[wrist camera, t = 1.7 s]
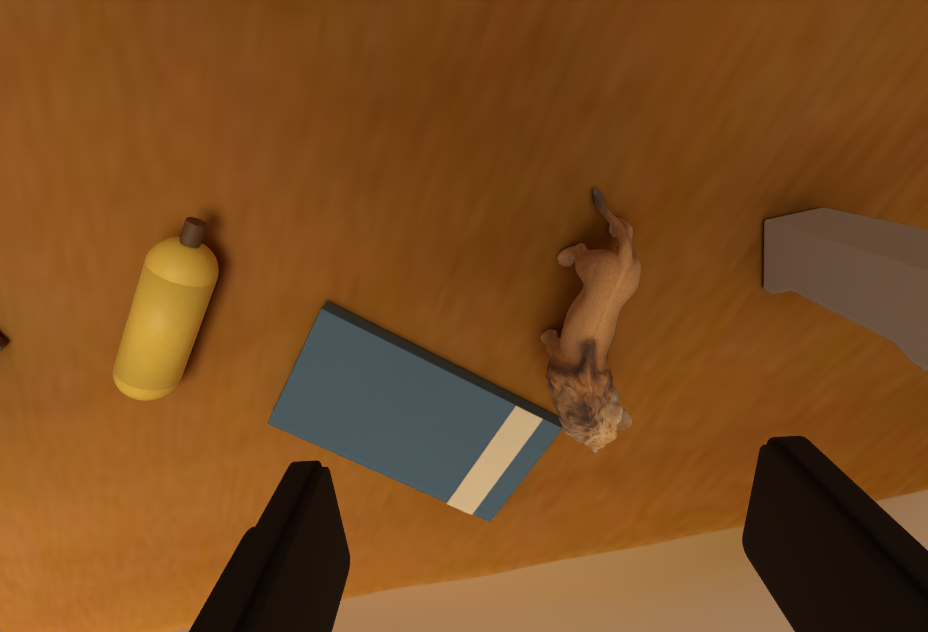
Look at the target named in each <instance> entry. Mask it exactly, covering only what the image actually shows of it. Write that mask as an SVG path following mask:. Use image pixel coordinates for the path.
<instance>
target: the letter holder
mask: <svg viewBox="0 0 928 632" xmlns="http://www.w3.org/2000/svg"><path fill="white" fill-rule="evenodd" d="M6 344H7V341H6V340H5V339H4V338H3V337H2V336H1V335H0V349H2V348H3V347H4V346H5V345H6Z"/></svg>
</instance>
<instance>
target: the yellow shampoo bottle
mask: <svg viewBox="0 0 928 632" xmlns="http://www.w3.org/2000/svg"><path fill="white" fill-rule="evenodd" d="M206 228H207V224H206V223H205V222H204V221H202V220H200V219H197V218H193V217H188V218H186V220H185V223H184V226H183V229H182V233H181V236H180V237H172V238H167V239H165V240H162V241H160V242H158V243H157V244H156V245H154V246H153V247H152V249H151V250H150V251H149V252H148V254H147V256H146V259H145V262H144V265H143V269H142V272H141V275H140V279H139V282H138V286H137V289H136V293H135V296H134V299H133V303H132V306H131V310H130V313H129V316H128V320H127V323H126V327H125V330H124V333H123V337H122V340H121V344H120V347H119V350H118V354H117V357H116V361H115V364H114V368H113V378H114V382H115V384H116V385H117V387H118V388H119V390H120V391H121V392H123V393H124V394H125V395H127V396H129V397H131V398H134V399H138V400H154V399H157V398H161V397H163V396H165V395H167V394H168V393H170V392H171V391H173V390H174V389H175V387H176V386H177V385H178V384H179V382H180V380H181V378H182V376H183V373H184V370H185V367H186V364H187V362H188V359H189V356H190V353H191V351H192V348H193V345H194V342H195V340H196V337H197V334H198V331H199V329H200V326H201V323H202V320H203V318H204V315H205V312H206V309H207V307H208V304H209V301H210V298H211V296H212V293H213V290H214V287H215V285H216V282H217V279H218V275H219V266H218V262H217V259H216V257H215V255H214V254H213V252H212V251H211V250H210V249H209V248H208V247H207V246H206V245H204V244H203V243H202V240H203V237H204V234H205V231H206Z"/></svg>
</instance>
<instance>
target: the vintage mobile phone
mask: <svg viewBox="0 0 928 632" xmlns="http://www.w3.org/2000/svg"><path fill="white" fill-rule="evenodd" d="M764 290H765V291H767V292H769V293H771V294H776V293H781V292H786V291H793V292H795V293H797V294H799V295H801V296H803V297H805V298H807V299H809V300H811V301H813V302H815V303H817V304H819V305H821V306H823V307H825V308H827V309H829V310H831V311H833V312H835V313H837V314H839V315H841V316H843V317H845V318H847V319H849V320H851V321H853V322H855V323H857V324H859V325H861V326H863V327H865V328H867V329H868V330H870V331H872V332H874V333H876V334H878V335H880V336H882V337H884V338H886V339H888V340H890V341H892V342H894V343H895V344H896V345H897V346H898V347H899V348H900V349H901V351H902V352H903V353H904V354H905V355H906V356H907V357H908V358H909V359H910V360H911V361H912V362H913V363H914V364H916V365H917V366H919V367H920V368H922V369H924V370H925V371H927V372H928V230H926V229H922V228H917V227H912V226H908V225H903V224H899V223H894V222H889V221H885V220H880V219H876V218H871V217H866V216H862V215H857V214H853V213H848V212H843V211H839V210H834V209H830V208H825V207H822V208H818V209H813V210H808V211H804V212H799V213H795V214H790V215H785V216H781V217H776V218H772V219H767V220H765V221H764Z"/></svg>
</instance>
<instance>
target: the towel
mask: <svg viewBox="0 0 928 632" xmlns="http://www.w3.org/2000/svg"><path fill="white" fill-rule="evenodd" d="M268 424H270V425H272V426H274V427H277V428H279V429H281V430H284V431H286V432H288V433H290V434H293V435H295V436H297V437H299V438H302V439H304V440H306V441H308V442H311V443H313V444H315V445H317V446H320V447H322V448H324V449H327V450H329V451H331V452H333V453H336V454H338V455H340V456H342V457H345V458H347V459H349V460H351V461H354V462H356V463H358V464H360V465H363V466H365V467H367V468H369V469H372V470H374V471H376V472H379V473H381V474H383V475H385V476H388V477H390V478H392V479H394V480H397V481H399V482H401V483H403V484H406V485H408V486H410V487H412V488H415V489H417V490H419V491H422V492H424V493H426V494H428V495H431V496H433V497H435V498H437V499H440V500H442V501H444V502H446V503H447V504H448V505H450V506H452V507H455V508H457V509H459V510H462V511H464V512H466V513H468V514H471V515H472V514H474V515H476V516H478V517H480V518H483V519H485V520H487V521H489V522H490V521H491V520H492V519H493V518H494V516H495V515H496V514H497V512H498V511H499V510H500V509H501V507H502V506H503V505H504V503H505V502H506V501H507V499H508V498H509V497H510V496H511V494H512V493H513V492H514V490H515V489H516V488H517V487H518V485H519V484H520V483H521V481H522V480H523V479H524V477H525V476H526V475H527V474H528V472H529V471H530V470H531V468H532V467H533V466H534V464H535V463H536V462H537V461H538V459H539V458H540V457H541V455H542V454H543V453H544V451H545V450H546V449H547V448H548V446H549V445H550V444H551V442H552V441H553V440H554V439H555V437H556V436H557V435H558V433H559V432H560V431H561V429H562V426H561V422H560V420H559V417H557V416H555V415H553V414H551V413H549V412H547V411H545V410H543V409H541V408H539V407H537V406H535V405H533V404H531V403H529V402H527V401H525V400H523V399H521V398H519V397H517V396H515V395H513V394H511V393H509V392H507V391H505V390H503V389H501V388H499V387H497V386H495V385H493V384H491V383H489V382H487V381H485V380H483V379H481V378H479V377H477V376H475V375H473V374H471V373H469V372H467V371H465V370H463V369H461V368H459V367H457V366H455V365H453V364H451V363H449V362H447V361H445V360H443V359H441V358H439V357H437V356H435V355H433V354H431V353H429V352H427V351H425V350H423V349H421V348H419V347H417V346H415V345H413V344H411V343H409V342H407V341H405V340H403V339H401V338H399V337H397V336H395V335H393V334H391V333H389V332H387V331H385V330H383V329H381V328H379V327H377V326H375V325H373V324H371V323H369V322H367V321H365V320H363V319H361V318H359V317H357V316H355V315H353V314H351V313H349V312H347V311H345V310H343V309H341V308H339V307H337V306H335V305H333V304H331V303H329V302H326V304H325V305H324V306H323V307H322V308H321V310H320V312H319V314H318V316H317V318H316V321H315V323H314V325H313V327H312V329H311V331H310V333H309V336H308V338H307V340H306V342H305V344H304V346H303V348H302V351H301V353H300V355H299V357H298V359H297V361H296V363H295V366H294V368H293V370H292V372H291V374H290V376H289V378H288V381H287V383H286V385H285V387H284V389H283V391H282V393H281V396H280V398H279V400H278V402H277V404H276V406H275V408H274V411H273V413H272V415H271V417H270V419H269V421H268Z"/></svg>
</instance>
